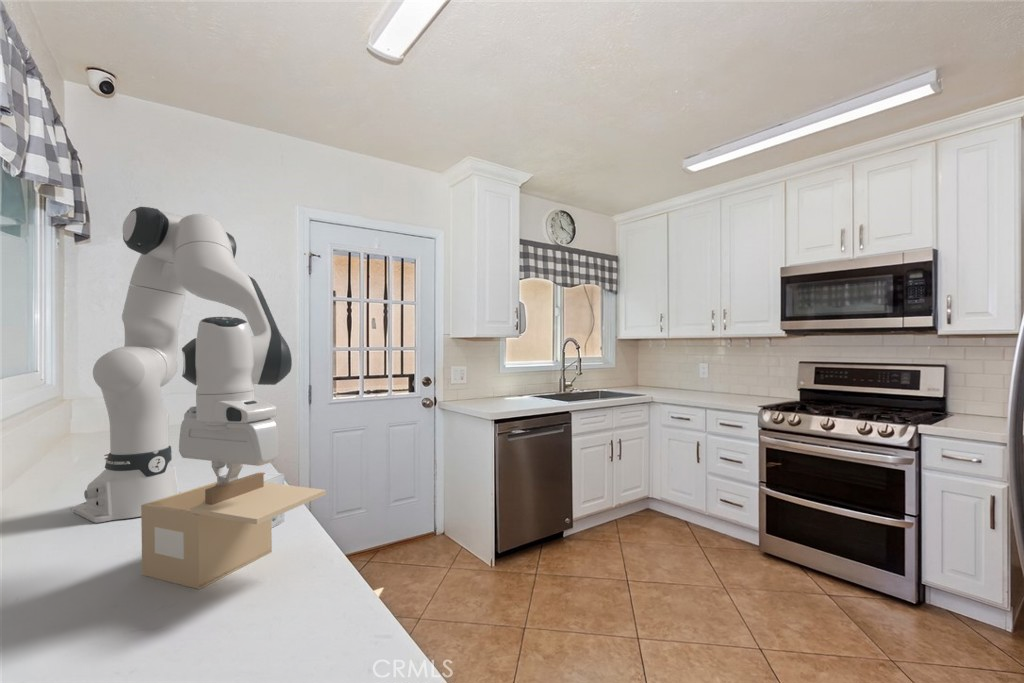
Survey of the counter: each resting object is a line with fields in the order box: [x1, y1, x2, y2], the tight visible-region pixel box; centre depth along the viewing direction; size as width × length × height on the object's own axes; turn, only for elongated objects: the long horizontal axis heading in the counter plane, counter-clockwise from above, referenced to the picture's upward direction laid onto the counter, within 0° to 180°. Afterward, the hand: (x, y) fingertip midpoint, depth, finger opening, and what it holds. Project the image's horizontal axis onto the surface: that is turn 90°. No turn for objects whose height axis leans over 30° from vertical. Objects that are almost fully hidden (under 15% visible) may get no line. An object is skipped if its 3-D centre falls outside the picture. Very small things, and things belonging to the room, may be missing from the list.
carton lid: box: [191, 472, 327, 524], centre depth 80 cm, size 14×14×3 cm
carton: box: [140, 481, 273, 590], centre depth 84 cm, size 14×14×12 cm
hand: (227, 485), depth 83 cm, fingers closed
